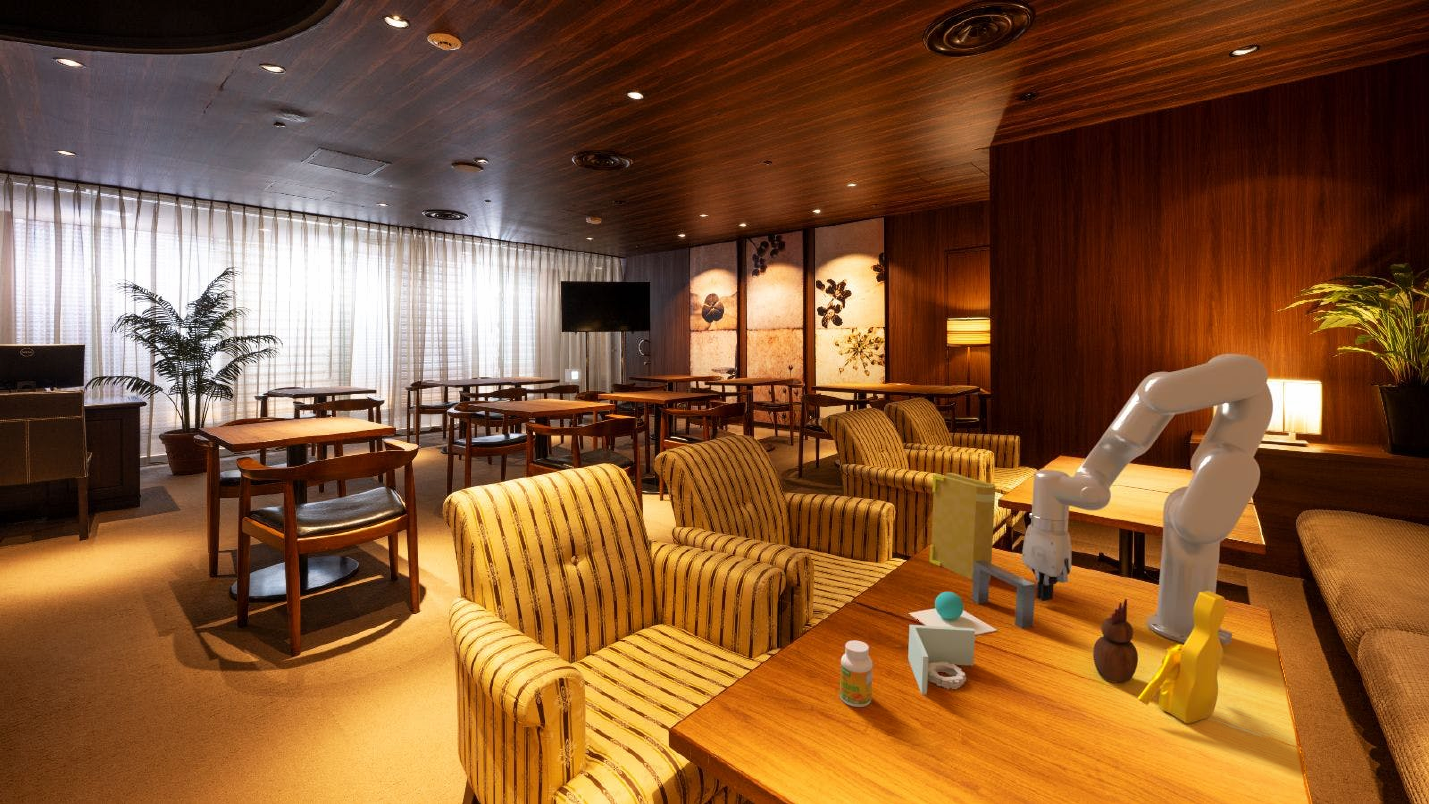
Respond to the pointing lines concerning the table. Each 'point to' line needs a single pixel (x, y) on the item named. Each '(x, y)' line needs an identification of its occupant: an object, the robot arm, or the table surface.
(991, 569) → the bridge
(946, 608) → the ball
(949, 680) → the l-shaped corner panel
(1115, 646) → the wooden figurine
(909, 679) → the table surface
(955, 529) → the book
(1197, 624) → the figure statuette
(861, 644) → the supplement bottle
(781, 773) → the table surface
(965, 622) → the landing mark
